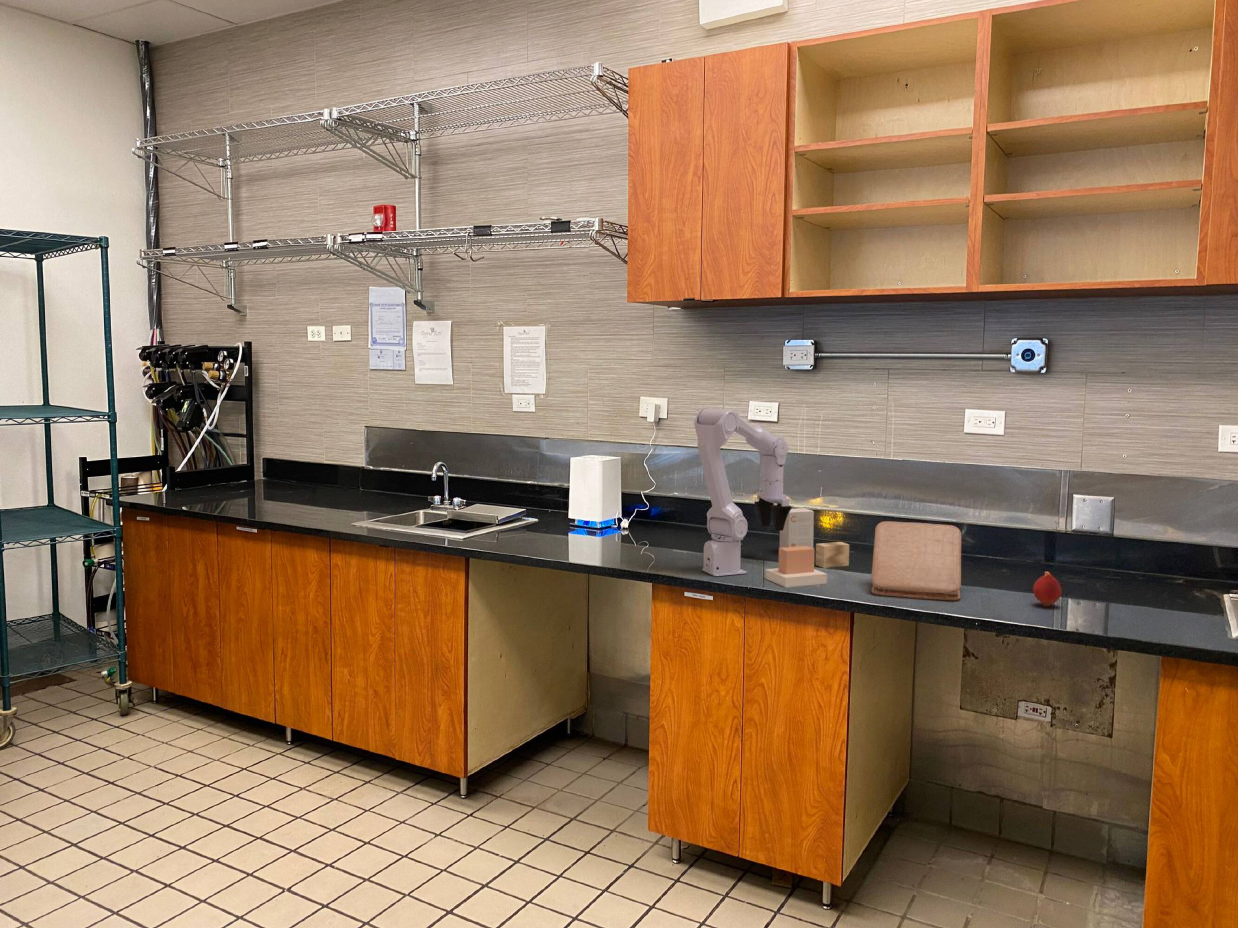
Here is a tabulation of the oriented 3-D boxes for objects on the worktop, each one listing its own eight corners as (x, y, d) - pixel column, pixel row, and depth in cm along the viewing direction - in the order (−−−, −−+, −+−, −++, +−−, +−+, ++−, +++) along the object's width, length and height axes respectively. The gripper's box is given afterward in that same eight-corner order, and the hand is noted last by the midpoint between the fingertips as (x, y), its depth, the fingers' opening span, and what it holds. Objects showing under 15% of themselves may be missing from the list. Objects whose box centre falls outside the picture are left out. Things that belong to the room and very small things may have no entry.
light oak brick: (823, 568, 243) (824, 546, 243) (815, 565, 247) (816, 543, 246) (848, 565, 246) (849, 544, 245) (840, 562, 250) (840, 541, 249)
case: (869, 596, 214) (871, 530, 212) (875, 576, 233) (877, 516, 231) (960, 604, 207) (964, 536, 205) (959, 583, 226) (962, 521, 225)
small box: (803, 550, 266) (804, 507, 265) (813, 555, 260) (814, 510, 258) (778, 552, 264) (779, 508, 263) (787, 556, 258) (788, 512, 256)
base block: (785, 589, 222) (785, 577, 222) (765, 580, 231) (765, 569, 231) (826, 585, 226) (827, 573, 226) (805, 576, 235) (805, 565, 235)
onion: (1052, 602, 206) (1054, 568, 206) (1065, 609, 201) (1067, 574, 200) (1027, 602, 206) (1029, 568, 205) (1040, 609, 201) (1041, 574, 200)
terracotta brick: (786, 574, 225) (786, 551, 224) (778, 570, 229) (778, 547, 228) (813, 571, 228) (814, 548, 227) (805, 568, 232) (806, 545, 231)
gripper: (799, 482, 243) (798, 531, 245) (772, 476, 257) (771, 523, 258) (776, 483, 241) (775, 533, 242) (750, 477, 255) (750, 524, 256)
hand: (772, 528), depth 250 cm, fingers open, 7 cm apart
